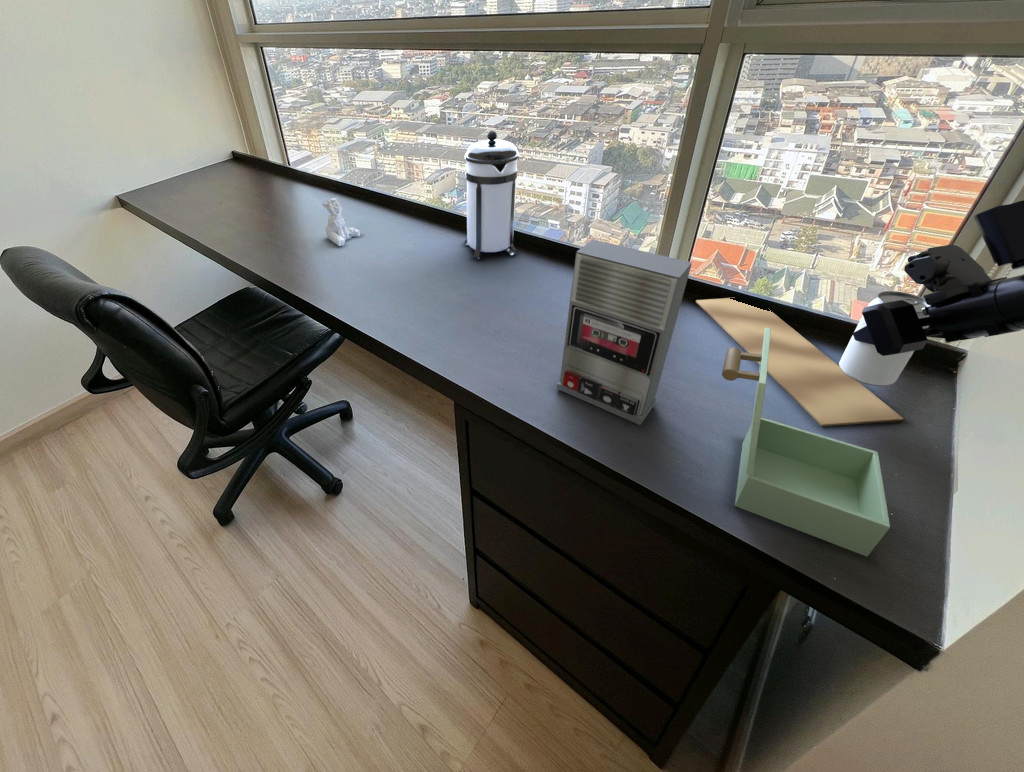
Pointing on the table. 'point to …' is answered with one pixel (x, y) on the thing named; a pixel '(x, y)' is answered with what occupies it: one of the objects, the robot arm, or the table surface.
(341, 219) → the sitting furry creature
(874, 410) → the tan flat long board
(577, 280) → the cassette tape recorder
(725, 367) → the chest lid
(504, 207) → the coffee press
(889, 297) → the can
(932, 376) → the table surface
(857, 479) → the chest
